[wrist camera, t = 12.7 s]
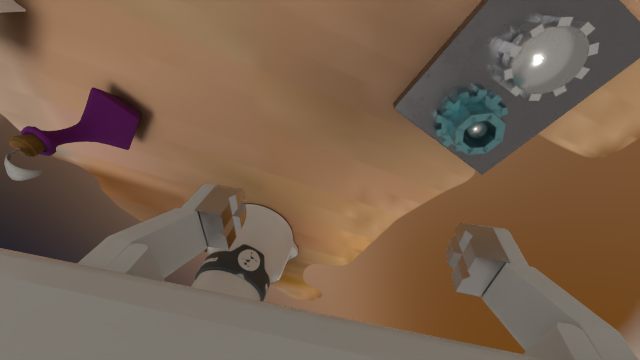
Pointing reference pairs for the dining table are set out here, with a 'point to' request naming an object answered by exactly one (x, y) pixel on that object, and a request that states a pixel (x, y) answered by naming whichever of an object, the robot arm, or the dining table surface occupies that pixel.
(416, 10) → the dining table surface
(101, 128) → the perfume bottle
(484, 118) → the planet gear
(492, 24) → the carrier plate
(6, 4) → the black-topped pedestal
